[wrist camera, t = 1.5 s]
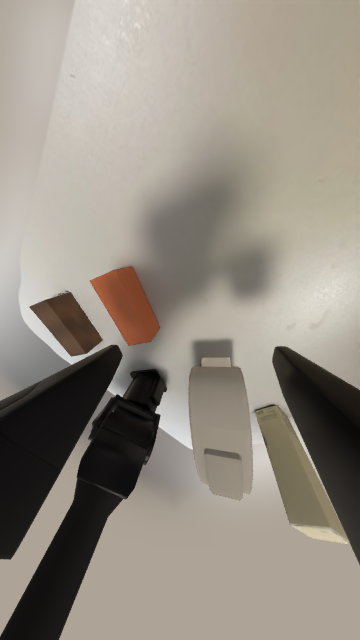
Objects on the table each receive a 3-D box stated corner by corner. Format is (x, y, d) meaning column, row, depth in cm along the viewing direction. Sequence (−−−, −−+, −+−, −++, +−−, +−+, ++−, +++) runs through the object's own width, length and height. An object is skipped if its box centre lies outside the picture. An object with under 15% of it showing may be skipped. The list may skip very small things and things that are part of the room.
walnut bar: (102, 340, 26) (86, 353, 22) (88, 343, 27) (71, 356, 24) (70, 292, 22) (44, 300, 19) (55, 298, 23) (29, 306, 20)
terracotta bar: (160, 327, 22) (151, 341, 18) (140, 331, 23) (128, 346, 20) (132, 266, 18) (114, 269, 15) (110, 275, 19) (89, 280, 16)
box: (253, 409, 27) (286, 524, 15) (275, 403, 25) (331, 530, 13) (268, 423, 28) (309, 540, 16) (290, 418, 26) (353, 547, 14)
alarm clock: (194, 342, 22) (179, 436, 11) (233, 341, 20) (263, 448, 9) (207, 420, 32) (206, 512, 20) (234, 423, 30) (249, 524, 19)
